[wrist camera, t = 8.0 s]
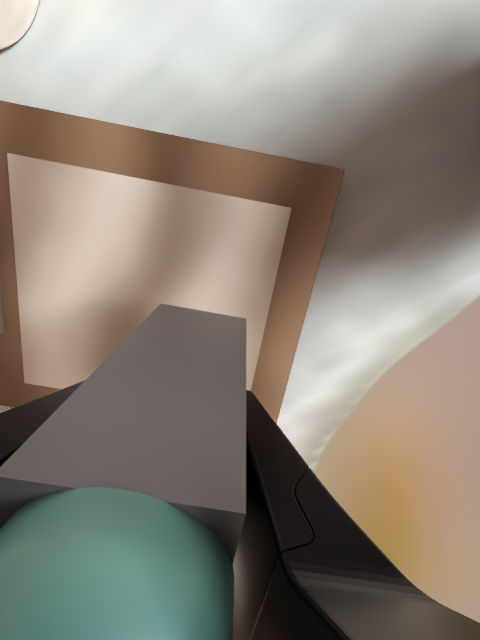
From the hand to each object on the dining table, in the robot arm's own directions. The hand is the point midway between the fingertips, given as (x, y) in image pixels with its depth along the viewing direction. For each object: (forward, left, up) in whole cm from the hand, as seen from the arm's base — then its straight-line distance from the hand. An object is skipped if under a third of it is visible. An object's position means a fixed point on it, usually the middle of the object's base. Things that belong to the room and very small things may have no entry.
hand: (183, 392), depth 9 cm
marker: (0, 0, -3) cm, 3 cm away
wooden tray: (+4, 0, -9) cm, 10 cm away
